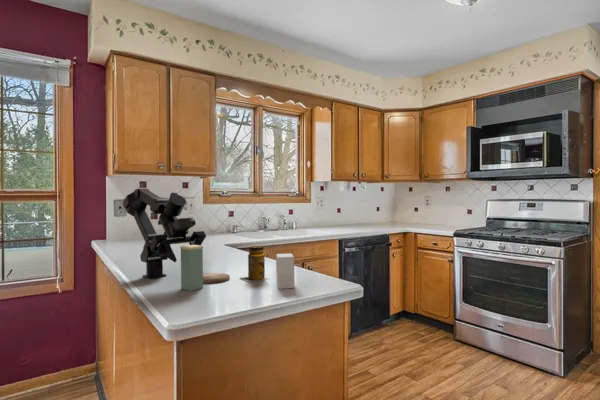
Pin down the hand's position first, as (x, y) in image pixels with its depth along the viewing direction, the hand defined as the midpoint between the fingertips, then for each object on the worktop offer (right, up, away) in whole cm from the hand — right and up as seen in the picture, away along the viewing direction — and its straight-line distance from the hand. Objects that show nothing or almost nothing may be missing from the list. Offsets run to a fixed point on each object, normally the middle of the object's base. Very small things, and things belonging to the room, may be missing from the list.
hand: (188, 259), depth 121 cm
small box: (+33, -9, +1) cm, 34 cm away
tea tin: (+2, -9, -1) cm, 10 cm away
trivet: (+5, -9, +12) cm, 16 cm away
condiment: (+21, -9, +12) cm, 26 cm away
